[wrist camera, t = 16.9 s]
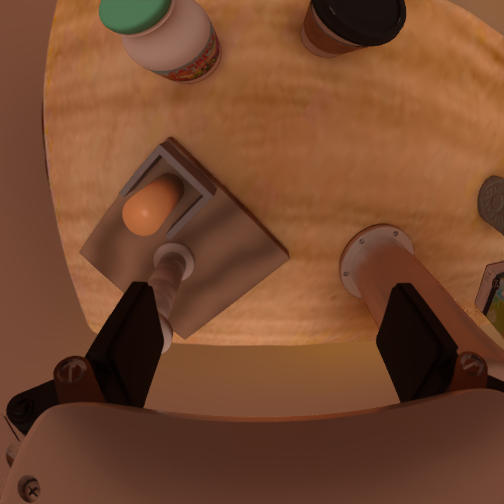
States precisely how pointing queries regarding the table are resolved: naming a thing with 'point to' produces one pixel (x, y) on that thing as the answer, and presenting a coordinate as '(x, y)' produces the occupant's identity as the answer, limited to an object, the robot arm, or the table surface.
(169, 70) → the milk bottle
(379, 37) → the coffee cup
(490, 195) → the grey green embossed cup
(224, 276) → the board
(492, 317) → the tea box
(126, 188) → the notch block
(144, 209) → the plug
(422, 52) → the table surface
